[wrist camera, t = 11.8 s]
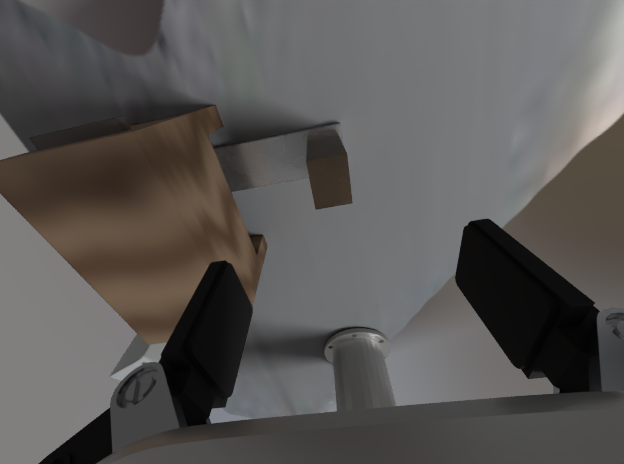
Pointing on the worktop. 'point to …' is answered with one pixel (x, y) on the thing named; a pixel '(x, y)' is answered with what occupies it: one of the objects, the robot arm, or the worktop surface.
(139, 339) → the supplement box
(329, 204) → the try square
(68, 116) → the worktop surface
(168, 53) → the worktop surface
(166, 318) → the cabinet
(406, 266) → the worktop surface
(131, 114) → the worktop surface
